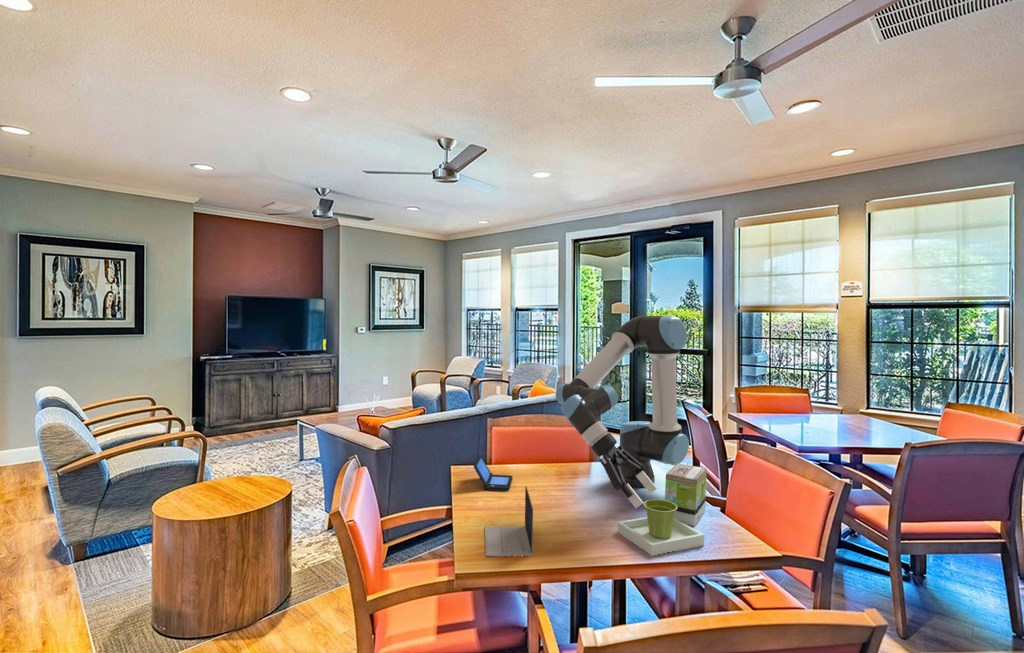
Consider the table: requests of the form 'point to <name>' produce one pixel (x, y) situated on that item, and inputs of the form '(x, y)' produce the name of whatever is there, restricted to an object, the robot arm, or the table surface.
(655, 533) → the plant pot
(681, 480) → the tea box
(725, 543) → the table surface
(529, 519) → the laptop
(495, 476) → the handheld game console
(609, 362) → the robot arm
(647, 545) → the sage tray
